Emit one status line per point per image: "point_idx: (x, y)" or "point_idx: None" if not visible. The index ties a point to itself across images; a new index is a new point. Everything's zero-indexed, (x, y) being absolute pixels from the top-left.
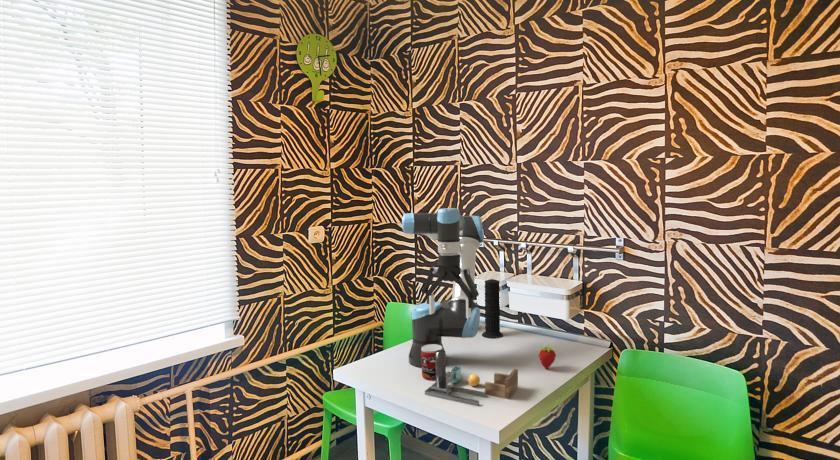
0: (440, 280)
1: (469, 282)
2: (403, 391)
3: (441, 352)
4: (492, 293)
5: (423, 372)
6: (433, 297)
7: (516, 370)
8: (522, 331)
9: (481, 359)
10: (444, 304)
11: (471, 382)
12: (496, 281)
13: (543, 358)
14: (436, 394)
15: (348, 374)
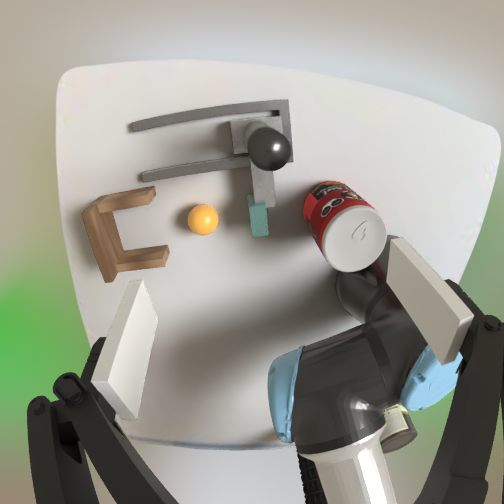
0: (438, 498)
1: None
2: (344, 90)
3: (260, 145)
4: (314, 488)
5: (346, 186)
6: (436, 340)
7: (103, 276)
8: (265, 443)
9: (270, 341)
10: (407, 432)
11: (202, 205)
12: None
13: None
14: (251, 102)
15: (484, 128)
